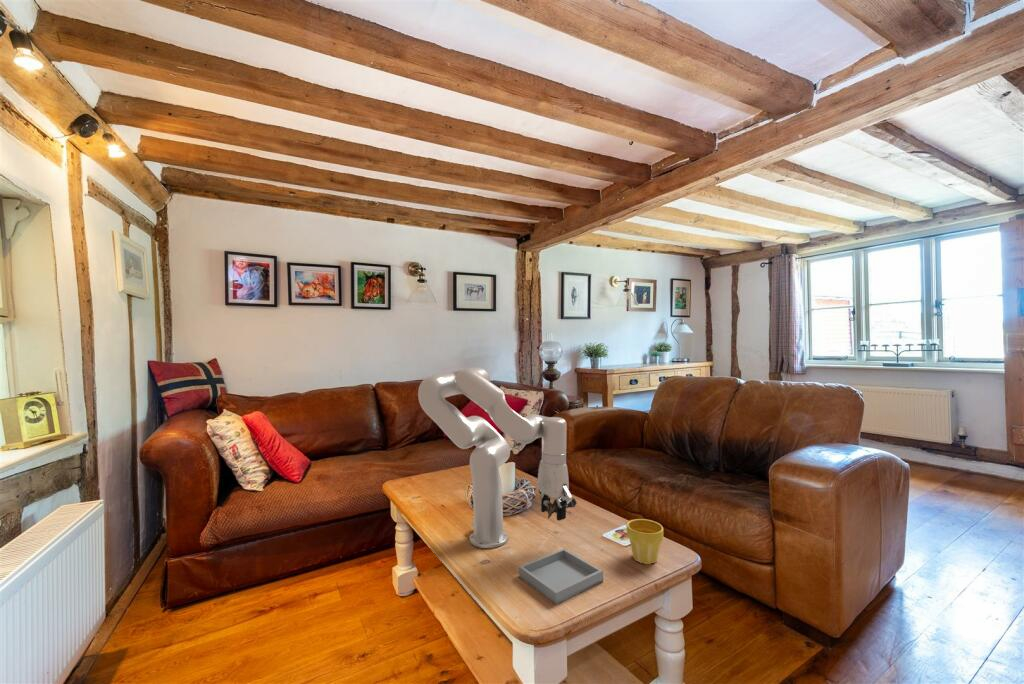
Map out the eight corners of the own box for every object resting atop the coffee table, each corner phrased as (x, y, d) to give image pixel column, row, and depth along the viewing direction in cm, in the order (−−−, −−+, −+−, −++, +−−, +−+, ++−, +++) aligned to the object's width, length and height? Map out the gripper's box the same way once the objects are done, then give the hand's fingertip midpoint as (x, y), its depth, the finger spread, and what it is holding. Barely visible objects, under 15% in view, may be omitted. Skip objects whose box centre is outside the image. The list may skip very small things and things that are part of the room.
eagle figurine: (559, 521, 130) (581, 509, 135) (548, 498, 132) (570, 487, 137) (547, 526, 136) (569, 514, 140) (537, 504, 138) (558, 493, 143)
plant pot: (656, 549, 134) (655, 517, 134) (669, 567, 123) (668, 532, 123) (623, 550, 133) (622, 519, 133) (633, 568, 123) (632, 534, 123)
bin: (519, 577, 120) (518, 566, 120) (564, 558, 130) (564, 548, 130) (556, 605, 107) (556, 593, 107) (603, 581, 117) (603, 570, 117)
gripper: (527, 453, 140) (526, 508, 140) (563, 467, 125) (562, 528, 126) (545, 449, 144) (544, 503, 144) (582, 463, 130) (581, 522, 130)
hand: (553, 514), depth 135 cm, fingers closed on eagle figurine, 6 cm apart
